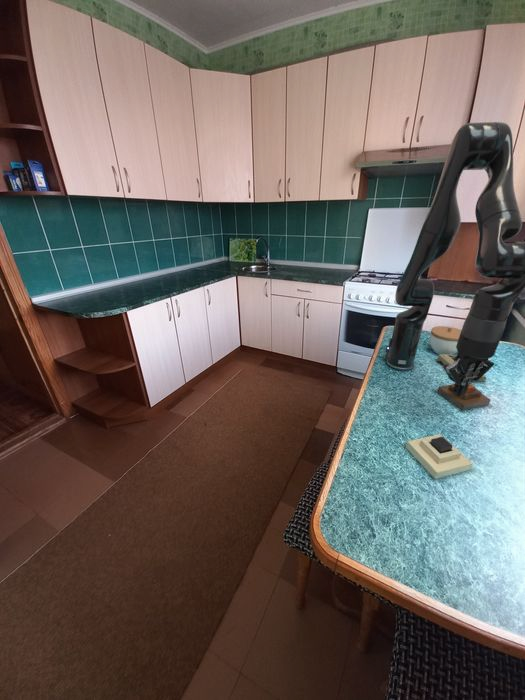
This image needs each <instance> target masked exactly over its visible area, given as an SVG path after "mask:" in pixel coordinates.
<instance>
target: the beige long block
mask: <svg viewBox="0 0 525 700" xmlns="http://www.w3.org/2000/svg"><path fill="white" fill-rule="evenodd" d="M456 356H457V354H453V355H448V354H440V355H439V354H438V356H437V358H436V361H437V362H438V363H439V364H440V365H441V366H442V367H444V365H446V364H448V365H450V364H452V363H453V362H454V358H455V357H456ZM486 379H487V377H486V375H485V374H484V375H483V376H482V377H481V378H480V379H479V380H478V381H473V382H472V383H477V382H485V381H486Z"/></svg>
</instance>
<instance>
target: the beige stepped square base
mask: <svg viewBox="0 0 525 700" xmlns="http://www.w3.org/2000/svg"><path fill="white" fill-rule="evenodd" d="M438 437H444V436H443V435H442V434H441V433H438V434H434V435H430V436H425V437H421V438H416V439H411V440H408V441H407V442H406V445H405V449H407V451H408V452H409V453H410V454H411V455H412V456H413V457H414V458H415V459H416V460H417V462H418V463H420V465H421V466H422V467H423V468H424V469H425V470H426V471H427V473H429V474H430V476H431V477H432V478H433V479H434V480H437V479H441V478H444V477H448V476H451V475H455V474H456V475H457V474H459V473H463V472H466V471H467V472H468V471H470V470H471V469H472V467H473V465H474V463H473V462H472V461H471V460H470V459H469V458H468V457H467V456H465V455H464V454H463V453H462V452H461V451H460V450H459V449H458V448H456V446H454V445H453V444H452V443H451V442H450V441H449V440H447V441H448V442H449V443H450V444H451V445H453V447H452V449H451V451H449V452H445V453H441V454H440V453H439V452H438V451H437V450H436V449H435V448H434V447H433V446H432V445H431V444H430V443H431V440H432V439H434V438H438Z"/></svg>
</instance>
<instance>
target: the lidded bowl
mask: <svg viewBox="0 0 525 700" xmlns="http://www.w3.org/2000/svg"><path fill="white" fill-rule="evenodd" d="M461 330H462V329H460V328H456V327H453V326H445V325H439V326H434V327H432V328H431V329H430V334H429V346H430V348H431V349H432V350H433V352H434V353H435V354H437V355H438V356H439V355H440V354H448V355H456V354H458V351H457V348H456V345H457V342H458V339H459V336H460V333H461Z"/></svg>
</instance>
